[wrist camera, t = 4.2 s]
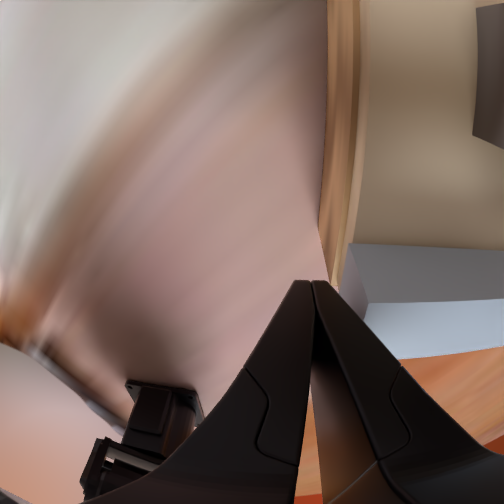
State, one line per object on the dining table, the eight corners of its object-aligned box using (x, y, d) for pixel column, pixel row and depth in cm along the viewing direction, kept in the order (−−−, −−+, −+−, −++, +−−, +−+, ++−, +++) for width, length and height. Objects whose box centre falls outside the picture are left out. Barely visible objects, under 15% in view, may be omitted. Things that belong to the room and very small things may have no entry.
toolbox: (481, 237, 14) (522, 284, 10) (317, 227, 14) (330, 285, 11) (510, 33, 7) (568, 35, 4) (325, -26, 8) (346, -68, 4)
